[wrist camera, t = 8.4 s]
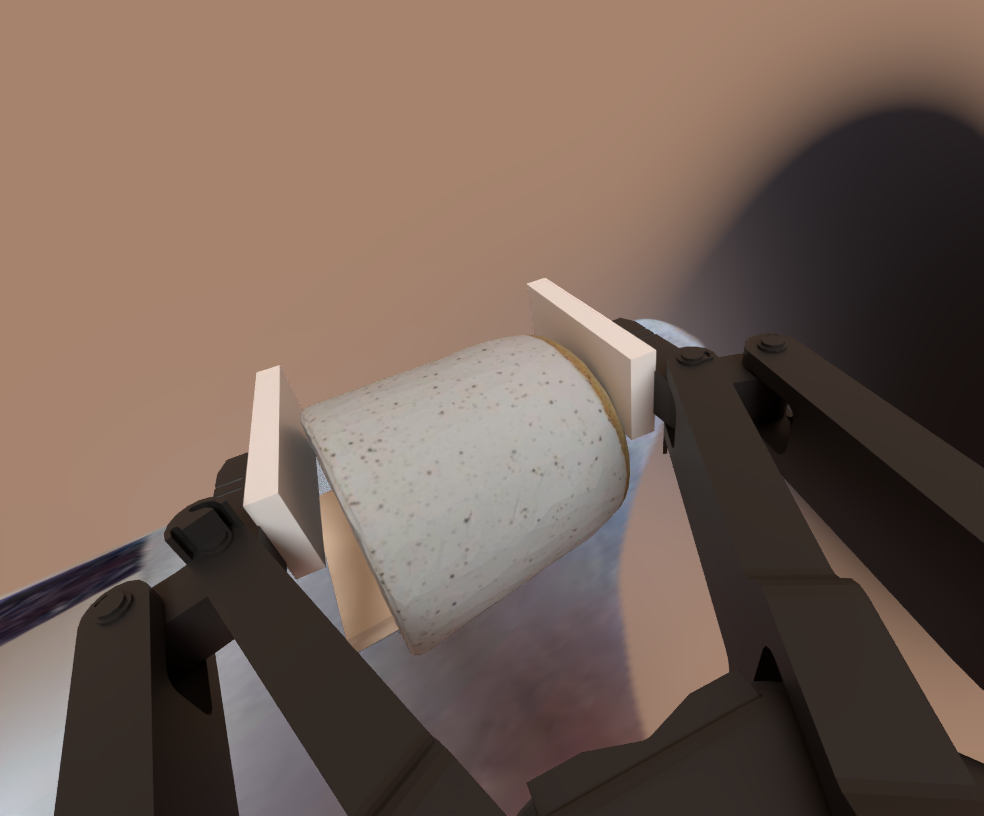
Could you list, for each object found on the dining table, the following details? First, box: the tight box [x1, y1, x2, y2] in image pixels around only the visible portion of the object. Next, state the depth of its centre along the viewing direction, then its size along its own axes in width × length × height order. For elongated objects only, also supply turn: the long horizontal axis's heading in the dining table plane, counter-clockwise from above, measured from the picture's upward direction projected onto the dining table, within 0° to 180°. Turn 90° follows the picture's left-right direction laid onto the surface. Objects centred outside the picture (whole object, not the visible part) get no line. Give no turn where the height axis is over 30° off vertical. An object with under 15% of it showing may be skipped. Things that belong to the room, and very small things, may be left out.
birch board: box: [319, 490, 399, 652], centre depth 34 cm, size 16×13×2 cm
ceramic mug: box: [300, 335, 630, 655], centre depth 16 cm, size 11×8×8 cm
